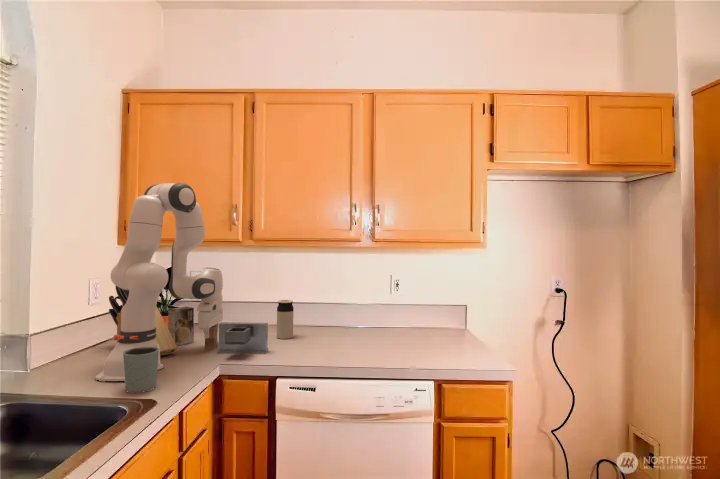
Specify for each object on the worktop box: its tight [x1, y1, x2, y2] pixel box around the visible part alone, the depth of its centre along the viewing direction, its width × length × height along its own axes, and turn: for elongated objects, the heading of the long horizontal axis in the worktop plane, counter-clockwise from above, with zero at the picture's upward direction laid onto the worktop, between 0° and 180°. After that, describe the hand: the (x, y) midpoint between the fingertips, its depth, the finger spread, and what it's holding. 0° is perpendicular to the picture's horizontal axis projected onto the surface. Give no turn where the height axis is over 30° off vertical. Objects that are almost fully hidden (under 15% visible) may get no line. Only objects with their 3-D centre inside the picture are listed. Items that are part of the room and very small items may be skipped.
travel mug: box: [276, 299, 294, 340], centre depth 198 cm, size 8×8×18 cm
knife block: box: [108, 285, 178, 357], centre depth 170 cm, size 11×35×31 cm, turn 58°
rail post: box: [204, 326, 218, 349], centre depth 178 cm, size 4×4×9 cm
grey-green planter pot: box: [123, 347, 159, 393], centre depth 128 cm, size 10×10×12 cm
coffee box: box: [167, 306, 195, 347], centre depth 184 cm, size 9×6×16 cm
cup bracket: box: [216, 321, 269, 355], centre depth 168 cm, size 15×20×12 cm
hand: (211, 335), depth 178 cm, fingers open, 8 cm apart
